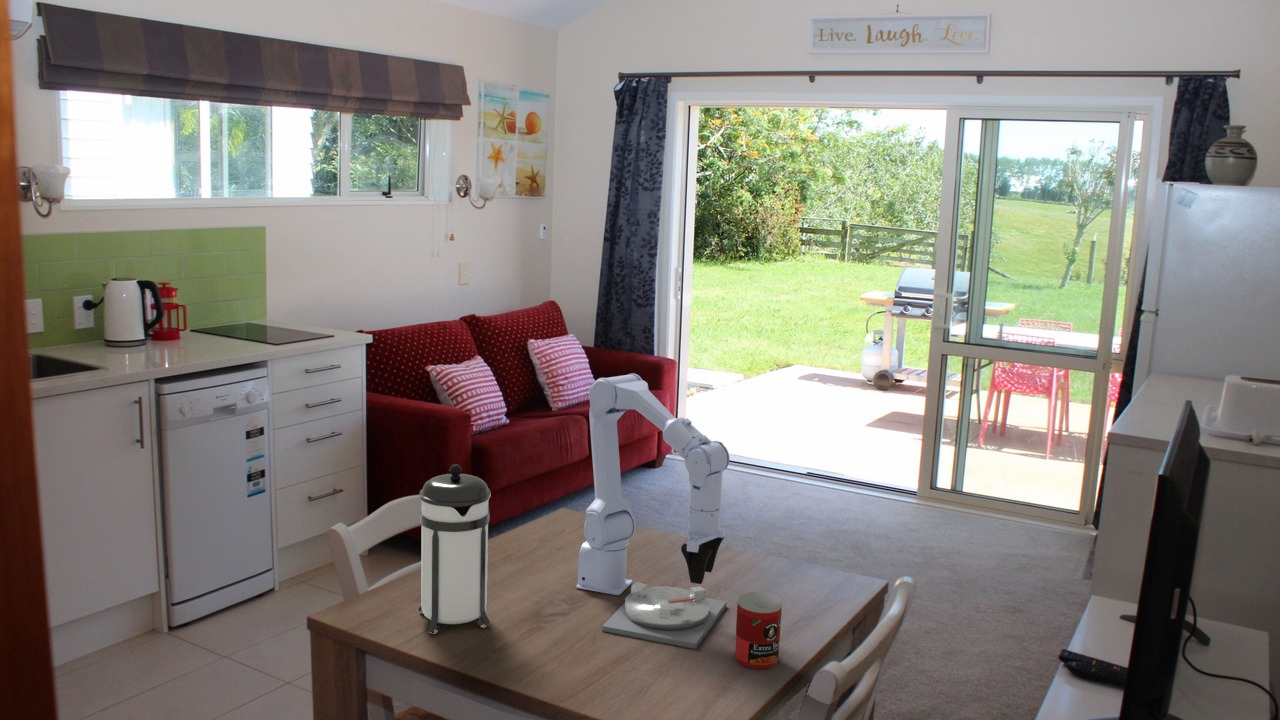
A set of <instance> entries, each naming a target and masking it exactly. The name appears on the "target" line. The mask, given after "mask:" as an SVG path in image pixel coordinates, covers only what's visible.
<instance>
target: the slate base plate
mask: <svg viewBox="0 0 1280 720" xmlns="http://www.w3.org/2000/svg"><path fill="white" fill-rule="evenodd" d="M705 598H706V599H707V601H708V602H709V616H708V619H707V620H706V621H705V622H704V623H702V624H701V625H698V626H696V627H693V628H688V629H682V630H661V629H654V628H649V627H645V626H642V625H639V624H637V623H635V622H633V621H631V620H630V619H629V618H628V617H627V616H626V614H625V602H624V603H623V604H621V606H620V607H619V608H618V609H617V610H616V611H615V612H614V614H612V615H611V616H610V617H609V619H607V620H606V622H604V624H603V625H602V627H601V631H602V632H606V633H611V634H616V635H620V636H621V635H622V636H626V637H632V638H636V639H641V640H646V641H652V642H658V643H663V644H667V645H673V646H679V647H683V648H688V649H694V650H696V649H697V648H698V647H699V645H700V643H701V642H702V641H703V640H704V638H705V636H706V635H707V634H708V633H709V631H710V630H711V629H712V627H713V626H714V624H715V623H716V622H717V619H718V618H719V617H720V616H721V615H722V613H723V611H725V609H726V607H727V601H725V600H721V599H720V600H719V599H715V598H707V597H705Z"/></svg>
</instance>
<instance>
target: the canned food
mask: <svg viewBox="0 0 1280 720" xmlns="http://www.w3.org/2000/svg"><path fill="white" fill-rule="evenodd" d="M736 604H737V605H736V608H737V609H736V622H735V623H736V624H735V641H734V642H735V643H734V657H735V659H736V661H737V662H738V663H739V664H741V665H742V666H744V667H745V668H749V669H754V670H765V669H770V668H773V667H774V666H776V665H777V663H778V660H779V658H780V657H779V656H780V639H781V627H782V626H781V625H782V615H783V613H782V611H783V609H782V608H783V604H782V600H781V599H780V598H779V597H777V596H776V595H773V594H771V593H767V592H764V591H763V592H762V591H749V592H745V593H742V594H741V595H739V596H738V598H737V603H736Z"/></svg>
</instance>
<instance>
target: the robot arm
mask: <svg viewBox="0 0 1280 720" xmlns="http://www.w3.org/2000/svg"><path fill="white" fill-rule="evenodd" d="M588 395H589V406H590V407H589V412H588V413H589V414H588V415H589V418H588V419H589V430H590V443H591V444H590V446H591V457H592V460H591V461H592V469H593V471H592V472H593V484H594V485H593V486H594V487H593V488H594V500H593V501H592V502H591V504H590V505H589V506H588V507H587V509H586V510H585V521H584V525H583V535H584V538H585V540H586V541H583V543H582V545H581V546H580V549H579V552H578V563H577V564H578V566H577V584H576V585H575V586H576V588H577V589H581V590H585V591H586V590H587V591H593V592H596V593H597V592H599V593H602V594H609V595H613V596H620V595H621V594H622V593H623V592H624V591H625V590H626V589H627V588H628V587H630V585H632V584H633V580H632V579H629V578H628V579H627V578H626V576H627V555H628V554H627V551H628V545H629V544H630V539H631V538H633V536H634V535H635V533H636V529H637V523H636V519H635V516H634V515H633V511H632V504H631V503H630V502H628V500H626V499H625V498H624V497H623V491H622V489H623V488H622V478H621V477H622V476H621V464H620V462H621V459H620V449H619V434H618V420H619V419H620V418H621V417H622V416H623V414H624V413H626V412H627V410H635V411H637V412H638V413H639V414H641V415H642V417H644V418H645V419H647V420H648V421H649V422H651V424H653V425H654V426H655V427H657V428H658V429H659V430H661V431H662V439H663V441H664V442H665V444H667V445H668V446H669V447H671V449H673V450H674V451H675V453H677V454H678V455H679V456H680V457H681V458H682V459H683V460H684V465H685V468H686V470H687V472H688V481H689V484H690V490H689V492H690V493H689V507H688V508H689V509H688V510H689V511H688V527H687V529H686V531H687V532H686V533H687V541H686V543H683V544H682V545H681V547H680V550H681V551H680V552H681V554H682V555H683V558H684V559H685V562H686V566H687V571H688V575H689V576H688V577H689V580H690V584H691V583H692V584H697V585H702V584H703V582H704V578H705V575H706V573H712V571H713V569H714V566H715V562H716V558H717V555H718V551H719V548H720V546H721V544H722V542H723V540H724V539H725V536H726V531H724V530H721V528H720V521H721V503H722V485H723V483H722V482H723V472H724V471H725V470H726V469H727V468H728V467H729V464H730V453H729V451H728V449H727V447H726V446H725V445H724V443H723V442H722V441H720V440H711V439H710V438H709V437H707V436H706V435H704V434H703V433H701V431H699V429H697V428H696V427H695V425H692V421H691V420H690V419H689V418H685V417H677V418H676V417H675V416H674V415H673V414H672V413H671V412H670V411H669V410H668V409H667V408H666V407H665V406H664V405H663V404H662V403H661V402H660V400H659V399H658V398H657V397H655V395H654V394H653V393H652V392H651V391H650V389H649V385H648V382H647V381H645V380H643V378H642V377H641V376H640V375H639V374H636V373H634V372H633V373H628V374H626V375H625V374H624V375H617V376H611V377H599V378H597V379H596V380H595V381H594V382H593V383H592V384H591V385H590V386H589V388H588Z"/></svg>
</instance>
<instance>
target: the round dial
mask: <svg viewBox="0 0 1280 720" xmlns="http://www.w3.org/2000/svg"><path fill="white" fill-rule="evenodd" d="M630 585H631V589H630V593H629V594H628V595H627V596H626V597H625V599H624V600H625V601H624V603H625V614H626V616H627V617H628V618H629V619H630V620H631V621H633V622H635V623H637V624H639V625H642V626H645V627H649V628H654V629H661V630H682V629H688V628H693V627H696V626H698V625H701V624H702V623H704V622H705V621H706V620H707V619H708V616H709V602H708V601H707V599H706V598H707V597H706V589H705V588H703V587H702V586H693V587H689V589H686V588H683V587H675V586H661V585H660V586H648V584H646V583H642V582H639V581H636V582H635V583H631V584H630Z"/></svg>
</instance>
